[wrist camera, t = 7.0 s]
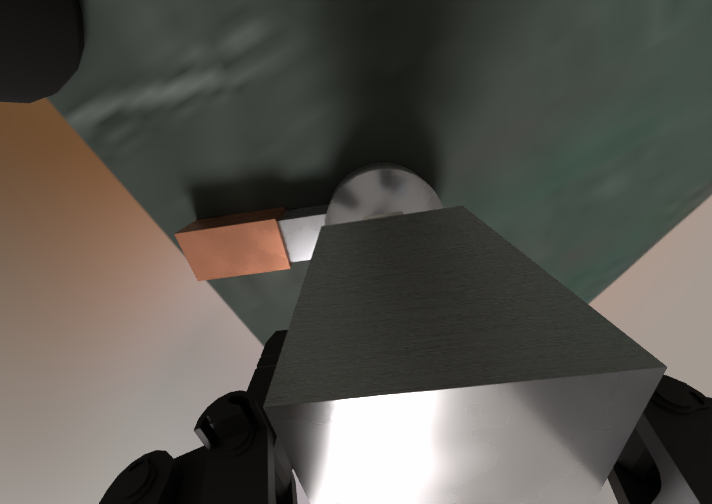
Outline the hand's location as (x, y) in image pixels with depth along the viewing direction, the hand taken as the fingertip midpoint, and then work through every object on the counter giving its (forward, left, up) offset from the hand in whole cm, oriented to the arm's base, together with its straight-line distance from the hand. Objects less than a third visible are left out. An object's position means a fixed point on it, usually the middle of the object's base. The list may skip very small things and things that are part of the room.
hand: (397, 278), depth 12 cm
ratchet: (+2, -4, -9) cm, 10 cm away
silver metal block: (0, 0, 0) cm, 0 cm away
